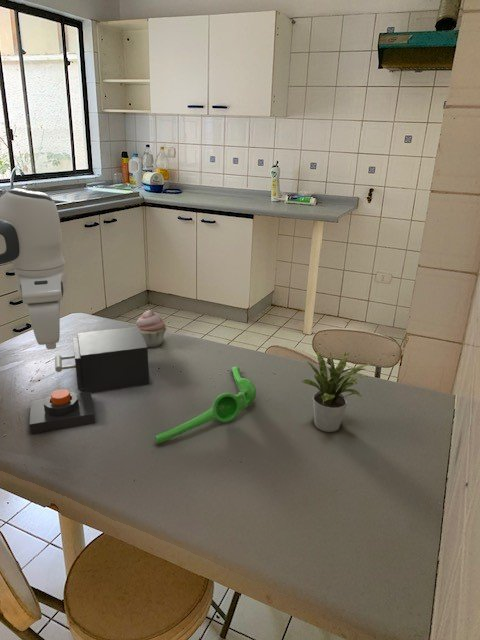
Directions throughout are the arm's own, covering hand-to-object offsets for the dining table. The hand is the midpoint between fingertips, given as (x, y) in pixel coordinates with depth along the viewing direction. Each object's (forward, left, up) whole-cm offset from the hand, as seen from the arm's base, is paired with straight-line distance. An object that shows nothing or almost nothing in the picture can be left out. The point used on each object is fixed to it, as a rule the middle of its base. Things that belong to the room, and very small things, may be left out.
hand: (51, 346), depth 92 cm
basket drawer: (+9, +12, -14) cm, 21 cm away
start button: (+1, -2, -12) cm, 12 cm away
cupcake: (+25, +28, -15) cm, 40 cm away
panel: (+1, -2, -15) cm, 15 cm away
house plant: (+52, -23, -15) cm, 59 cm away
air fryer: (+13, +12, -15) cm, 23 cm away
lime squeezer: (+33, -10, -15) cm, 37 cm away
